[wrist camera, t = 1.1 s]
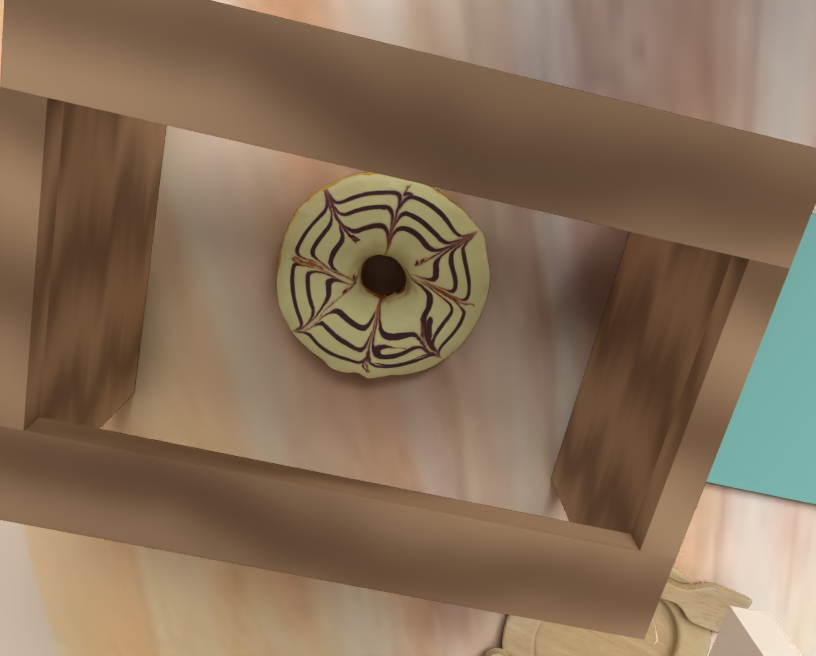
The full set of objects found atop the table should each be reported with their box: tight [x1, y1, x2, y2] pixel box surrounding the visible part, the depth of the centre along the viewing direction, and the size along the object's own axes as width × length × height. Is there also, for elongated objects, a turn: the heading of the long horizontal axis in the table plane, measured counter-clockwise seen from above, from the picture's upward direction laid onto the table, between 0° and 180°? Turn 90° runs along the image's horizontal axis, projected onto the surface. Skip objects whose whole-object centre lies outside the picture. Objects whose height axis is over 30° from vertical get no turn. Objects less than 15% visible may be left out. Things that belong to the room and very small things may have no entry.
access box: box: [0, 0, 816, 640], centre depth 31 cm, size 20×27×13 cm
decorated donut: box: [276, 172, 490, 378], centre depth 36 cm, size 10×11×4 cm
